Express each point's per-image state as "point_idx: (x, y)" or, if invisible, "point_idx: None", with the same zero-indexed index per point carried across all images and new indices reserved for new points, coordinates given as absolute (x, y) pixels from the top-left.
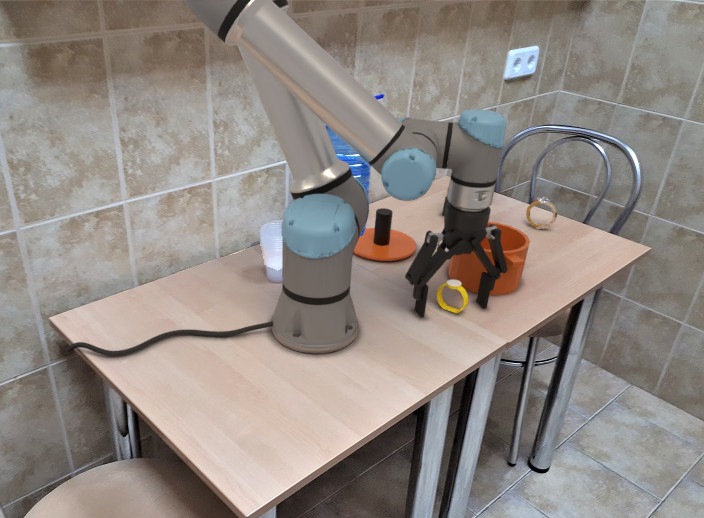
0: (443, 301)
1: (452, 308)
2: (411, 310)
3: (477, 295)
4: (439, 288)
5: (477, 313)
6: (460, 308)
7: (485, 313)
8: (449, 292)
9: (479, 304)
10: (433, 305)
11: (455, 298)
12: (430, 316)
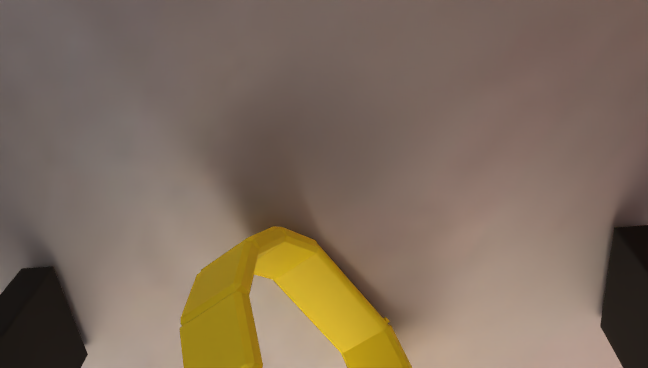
0: (285, 245)
1: (340, 307)
2: (4, 249)
3: (642, 270)
4: (186, 361)
5: (521, 350)
6: (390, 353)
7: (582, 358)
8: (454, 10)
9: (608, 279)
10: (207, 209)
11: (459, 131)
12: (144, 335)
